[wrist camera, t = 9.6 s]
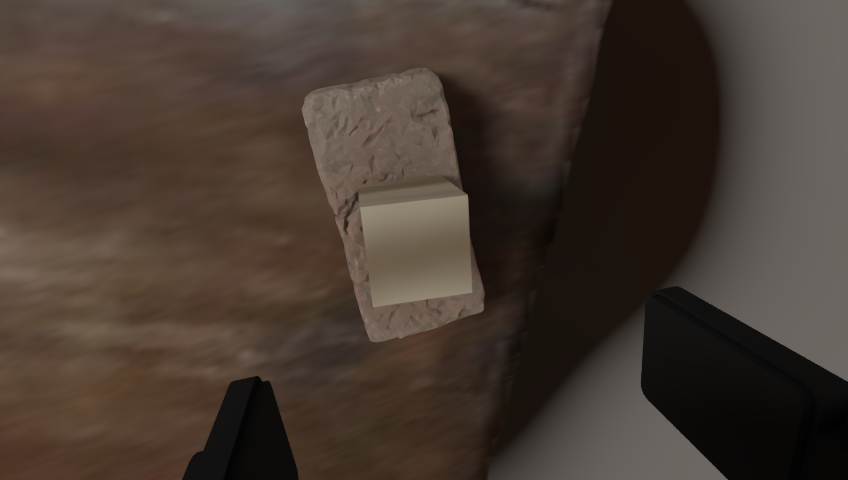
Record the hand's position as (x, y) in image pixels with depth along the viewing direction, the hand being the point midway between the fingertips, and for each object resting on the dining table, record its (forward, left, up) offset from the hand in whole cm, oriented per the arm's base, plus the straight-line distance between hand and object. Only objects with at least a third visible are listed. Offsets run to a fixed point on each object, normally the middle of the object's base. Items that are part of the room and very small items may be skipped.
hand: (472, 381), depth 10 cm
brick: (0, 0, -21) cm, 21 cm away
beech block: (0, 0, -16) cm, 16 cm away
